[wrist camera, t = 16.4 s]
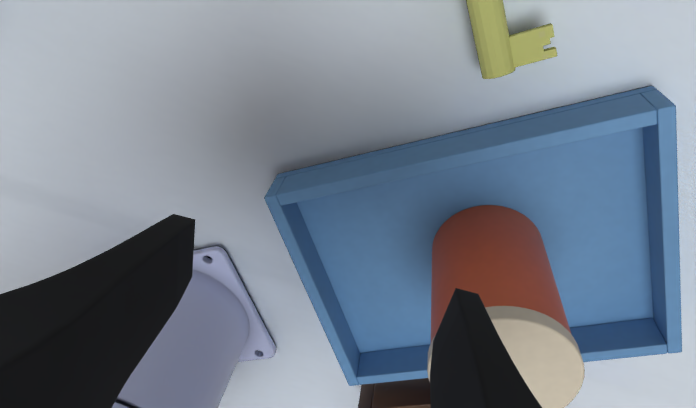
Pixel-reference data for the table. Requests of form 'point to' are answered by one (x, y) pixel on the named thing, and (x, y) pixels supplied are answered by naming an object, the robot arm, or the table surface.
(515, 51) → the key
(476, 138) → the tray
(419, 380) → the compartment box
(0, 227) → the table surface
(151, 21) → the table surface
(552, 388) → the snack tub
